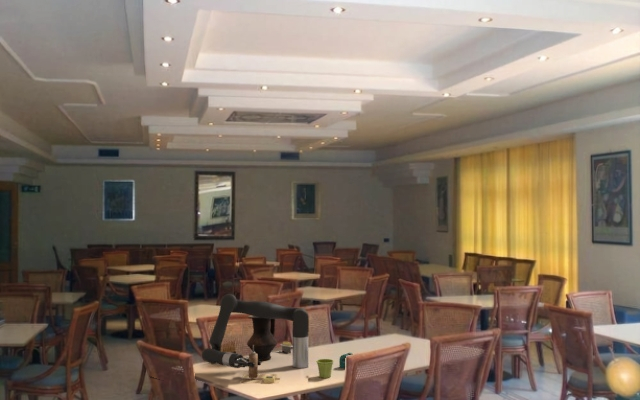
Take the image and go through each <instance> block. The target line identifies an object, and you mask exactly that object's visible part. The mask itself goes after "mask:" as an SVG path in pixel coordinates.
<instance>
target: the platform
mask: <svg viewBox="0 0 640 400" xmlns="http://www.w3.org/2000/svg"><path fill="white" fill-rule="evenodd" d="M279 346H281V351H282V352H283V351H285V352H284V353H287V352H289V353H288V354H291V353H292V348H293V344H292V342H291V341H290V342H288V341H283V342H282V343H280V344H279Z"/></svg>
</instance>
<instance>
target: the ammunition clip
mask: <svg viewBox="0 0 640 400" xmlns="http://www.w3.org/2000/svg"><path fill="white" fill-rule="evenodd" d="M221 352H228V353H229V352H230V353H237V351H236V341H235V339H232V340H226V341H223V342H222V343H221Z"/></svg>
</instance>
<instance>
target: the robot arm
mask: <svg viewBox="0 0 640 400" xmlns="http://www.w3.org/2000/svg"><path fill="white" fill-rule="evenodd" d="M233 313H235V314H244V315H248V316H249V315H252V316H257V317H261V318H267V319H275V320H277V319H279V320H280V319H281V320H288V321H291V322H292V345H293V347H292V362H291V363H292V367H293V368H297V369H299V368H300V369H301V368H309V361H310V360H309V329H310V328H309V327H310V324H309V322H310V318H309V317H310V316H309V313H308V311H307V309H305V308H303V307H294V306H293V307H292V306H284V305H280V304H277V303H273V302H269V301H268V302H267V301H262V300H250V301H248V300H247V301H245V300H243V299H242V300H241V299H239V298H237V297H236V296H235V295H234V294H231V293H227V294H225V295H223V296H222V298H221V300H220V307H219V312H218V316H217V320H216V322H215V324H214V327H213V329H212V332H211V335H210V338H209V341H208V343H209V345H210V346H211V348H209V347H208V348H205V349H203V350H202V352H201V355H200V356H201V358H202V360H203V361H204V362H206V363H208V364H211V365H215V364H218V365H221V366H226V367H229V368H234V369H240V368H249V367H255V364H254V363H251V362H249V357H244V356H243V354H241V353H237V352H236V353H230V352H229V353H228V352H221V343H223V342H224V341H223V340H224V338H225V334H226V330H227V326H228V322H229V320H230V316H231V314H233ZM261 361H262V360H258V366H261V364H262V362H261Z"/></svg>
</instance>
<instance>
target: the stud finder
mask: <svg viewBox="0 0 640 400" xmlns="http://www.w3.org/2000/svg"><path fill="white" fill-rule="evenodd" d="M274 381H275V376H265V378H264V383H263V384H275V383H274Z"/></svg>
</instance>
